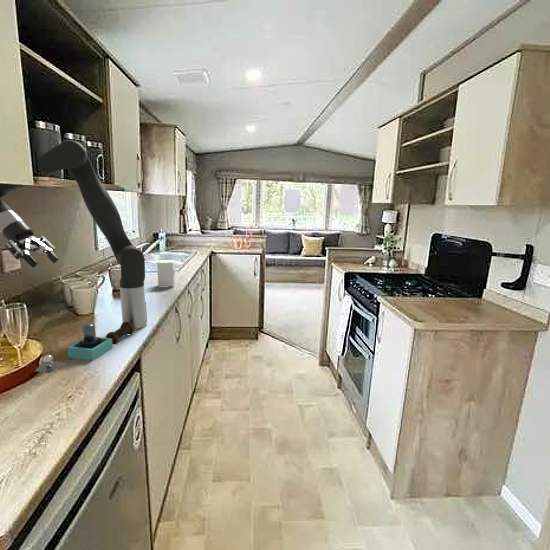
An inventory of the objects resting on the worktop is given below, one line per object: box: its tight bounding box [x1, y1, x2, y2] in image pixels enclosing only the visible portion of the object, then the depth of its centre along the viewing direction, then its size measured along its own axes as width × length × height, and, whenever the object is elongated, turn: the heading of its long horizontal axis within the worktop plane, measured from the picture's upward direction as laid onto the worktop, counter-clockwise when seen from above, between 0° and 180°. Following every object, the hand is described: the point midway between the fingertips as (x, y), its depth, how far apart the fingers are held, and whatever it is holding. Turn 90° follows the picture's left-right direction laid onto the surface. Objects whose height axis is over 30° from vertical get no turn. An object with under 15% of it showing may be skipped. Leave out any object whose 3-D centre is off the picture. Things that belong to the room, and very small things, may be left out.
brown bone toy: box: [105, 322, 136, 345], centre depth 138 cm, size 6×5×15 cm
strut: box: [79, 322, 101, 349], centre depth 123 cm, size 4×4×10 cm
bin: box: [67, 336, 114, 361], centre depth 124 cm, size 10×9×5 cm
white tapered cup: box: [156, 259, 176, 288], centre depth 220 cm, size 9×9×15 cm
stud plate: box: [34, 354, 68, 374], centre depth 113 cm, size 7×7×5 cm
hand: (46, 263), depth 123 cm, fingers open, 8 cm apart
